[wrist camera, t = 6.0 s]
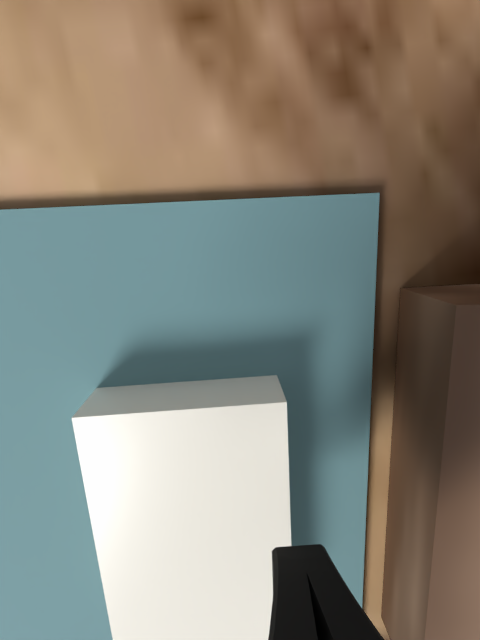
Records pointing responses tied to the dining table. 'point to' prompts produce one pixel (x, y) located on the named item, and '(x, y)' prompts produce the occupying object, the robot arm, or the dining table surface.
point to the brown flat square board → (435, 469)
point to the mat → (177, 366)
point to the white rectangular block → (187, 504)
